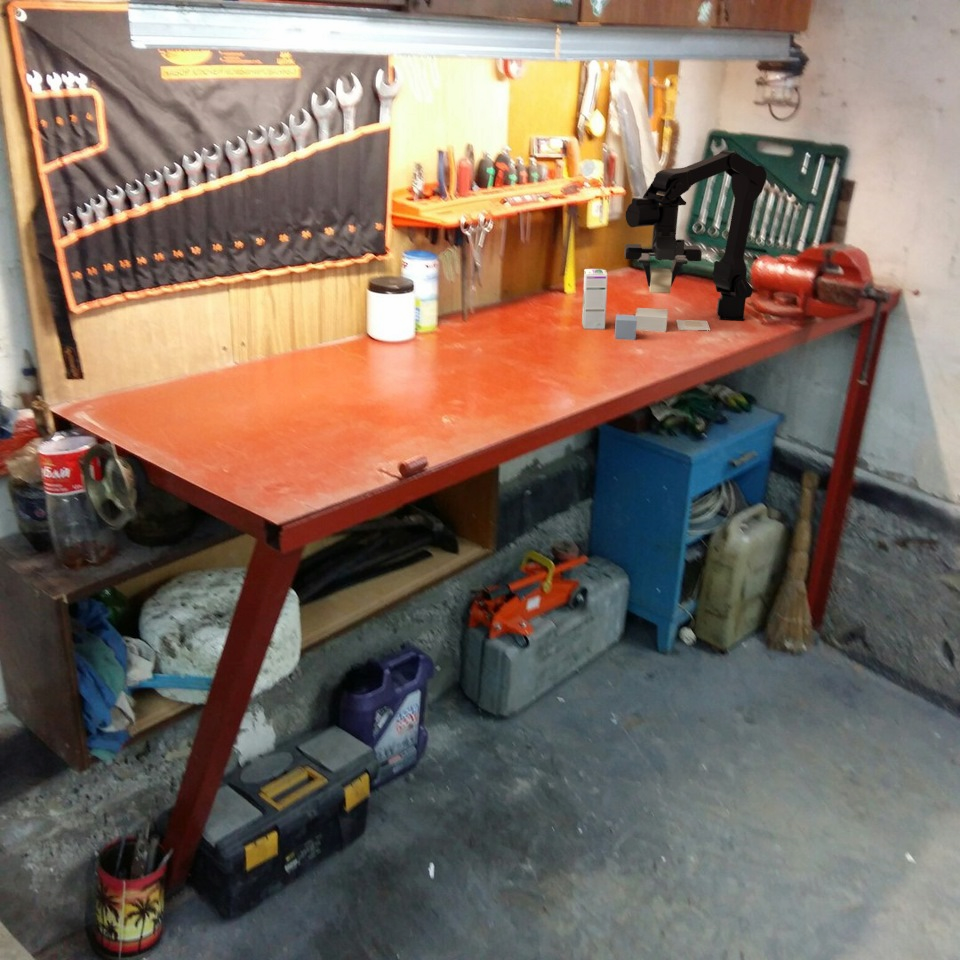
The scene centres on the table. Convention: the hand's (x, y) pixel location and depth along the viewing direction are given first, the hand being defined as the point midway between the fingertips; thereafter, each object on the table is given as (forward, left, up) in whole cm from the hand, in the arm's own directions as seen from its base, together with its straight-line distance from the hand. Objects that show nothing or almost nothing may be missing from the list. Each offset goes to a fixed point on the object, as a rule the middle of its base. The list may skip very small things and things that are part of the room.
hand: (659, 286), depth 250 cm
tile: (-10, -4, -11) cm, 15 cm away
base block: (+1, -2, -11) cm, 11 cm away
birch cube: (0, 0, -1) cm, 1 cm away
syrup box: (+16, 0, -11) cm, 20 cm away
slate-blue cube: (+8, +8, -11) cm, 16 cm away
